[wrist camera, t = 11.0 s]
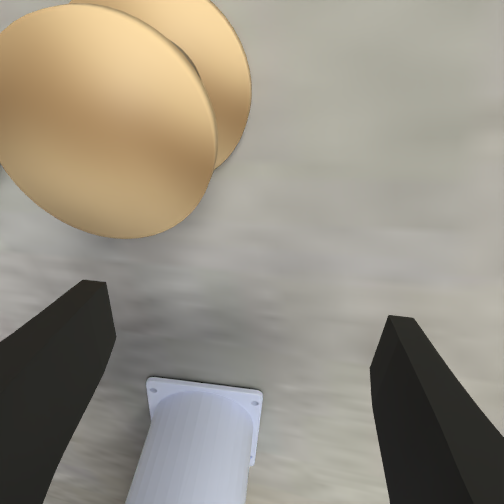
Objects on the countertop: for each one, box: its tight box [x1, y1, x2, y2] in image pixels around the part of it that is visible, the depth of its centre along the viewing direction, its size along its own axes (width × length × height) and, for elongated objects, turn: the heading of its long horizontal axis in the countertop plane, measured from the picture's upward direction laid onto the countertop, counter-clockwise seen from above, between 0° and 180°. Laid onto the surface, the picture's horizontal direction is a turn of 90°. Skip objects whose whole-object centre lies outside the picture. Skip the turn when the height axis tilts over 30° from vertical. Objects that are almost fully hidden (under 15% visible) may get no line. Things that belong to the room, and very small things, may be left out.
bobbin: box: [0, 0, 252, 239], centre depth 15 cm, size 8×8×6 cm
